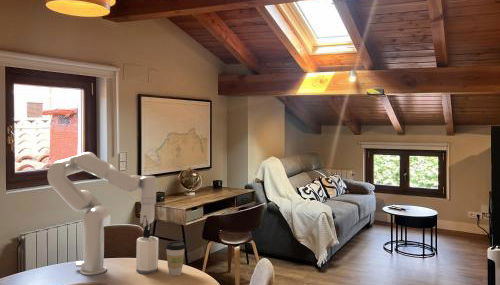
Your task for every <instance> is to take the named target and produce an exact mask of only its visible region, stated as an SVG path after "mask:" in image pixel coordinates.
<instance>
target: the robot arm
mask: <svg viewBox="0 0 500 285" xmlns="http://www.w3.org/2000/svg"><path fill="white" fill-rule="evenodd" d="M81 172H86V173H88V174H91V175H93V176H95V177H98V178H99V179H101V180H103V181H105V182H107V183H108V184H110V185H112V186H113V187H115V188H118V189H120V190H123V191H125V192H127V193H133V192H135V191H137V190H140V204H141V207H140V214H139V215H140V217H139V223H140V224H141V225H142V227H143V229H142V230H143V232H142V234H143V235H142V237H143V238H149V237H153V230H152V231H151V234H150V230H149V227H151V228H153V222H154V221H155V216H156V215H155V214H156V213H155V205H156V204H157V177H156V176H154V175H138V174H132V175H128V174H126V173H123V172H121V171H119V170H118V169H116V167H115V166H114V165H113V164H112V163H110V162H108V161H105V160H103V159H101V158H99V157H97V155H96V154H95V153H94V152H92V151H91V152H90V151H86V152H82V153H80V154H77V155H74V156H71V157H68V158H64V159H60V160H56V161H54V162H53V163H51V165H50V166H49V168H48V169H47V175H46V176H47V178H46V179H47V182H48V184H49V186H50V187H51V189H53V190H54V192H56V193H57V194H58V195H59V196H60V197H61V198H62V200H63V201H64V202H65V203H66V204H67V205H68V206H69V207H70V209H72V210H73V211H75V212H82V211H83V212H84V215H83V217H82V228H83V261H76V262H75V267H76V268H80V269H79V272H80V274H81V275H86V276H93V275H100V274H103V273H105V272H107V270H108V267H107V266H106V265H104V260H105V259H104V257H105V256H104V254H105V229H104V222H105V221H107V219H108V216H109V211H108V209H107V207H106V206H105V205H104V204H103V203H102V202H101V201H100V199H98V198H97V196H96V195H95V194H93V193H92V192H91V191H89V190H87V189H80V188H79V187H78V186H77V185H76V184H75V183H74V182H73V181H72V180H70V179H69V178H68V176H70V175H74V174H76V173H81Z"/></svg>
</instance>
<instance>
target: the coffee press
mask: <svg viewBox="0 0 500 285" xmlns="http://www.w3.org/2000/svg"><path fill="white" fill-rule="evenodd" d="M135 255H136V260H135V261H136V262H135V264H136V265H135V267H136V268H135V270H136V273H138V274H142V275H150V274H154V273H157V272H158V271H159V237H156V236H150V237H149V241H147V238H143V236H141V237H140V236H139V237H138V238H137V239H136V254H135Z"/></svg>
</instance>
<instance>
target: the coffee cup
mask: <svg viewBox="0 0 500 285" xmlns="http://www.w3.org/2000/svg"><path fill="white" fill-rule="evenodd" d="M186 248H187V247H186V244H185V243H184V242H183V241H177V240H174V241H169V242H167V243H166V246H165V249H166V258H167V259H166V260H167V268H168V275H169V276H175V277H176V276H180V275H181V274H182V272H183V266H184V258H185V249H186Z"/></svg>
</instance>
